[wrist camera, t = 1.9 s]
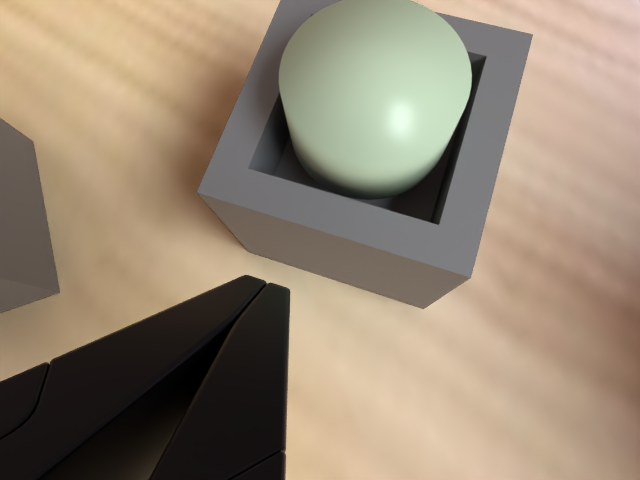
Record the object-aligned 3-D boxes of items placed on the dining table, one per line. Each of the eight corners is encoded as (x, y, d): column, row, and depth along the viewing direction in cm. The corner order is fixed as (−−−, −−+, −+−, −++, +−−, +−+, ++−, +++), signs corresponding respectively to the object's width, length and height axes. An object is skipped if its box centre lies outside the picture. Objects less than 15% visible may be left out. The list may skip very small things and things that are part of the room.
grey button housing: (423, 308, 21) (470, 277, 13) (248, 251, 22) (196, 192, 14) (469, 144, 23) (533, 34, 15) (307, 101, 24) (290, -22, 16)
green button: (424, 219, 15) (443, 184, 12) (268, 173, 15) (251, 130, 12) (464, 80, 16) (491, 18, 13) (319, 44, 17) (314, -22, 14)
